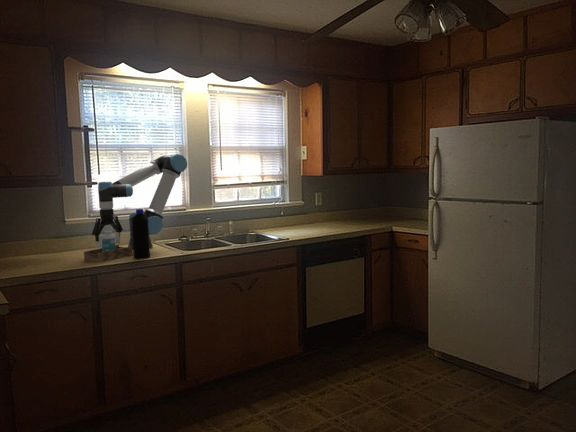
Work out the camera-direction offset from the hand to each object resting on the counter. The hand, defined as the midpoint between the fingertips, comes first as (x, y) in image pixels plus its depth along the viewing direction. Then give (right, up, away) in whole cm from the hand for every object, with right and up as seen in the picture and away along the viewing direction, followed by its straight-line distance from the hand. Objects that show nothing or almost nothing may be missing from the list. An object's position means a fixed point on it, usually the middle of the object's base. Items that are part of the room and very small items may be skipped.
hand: (108, 245), depth 286 cm
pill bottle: (0, -5, 0) cm, 5 cm away
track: (0, -7, +1) cm, 7 cm away
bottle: (+20, -7, -1) cm, 21 cm away
